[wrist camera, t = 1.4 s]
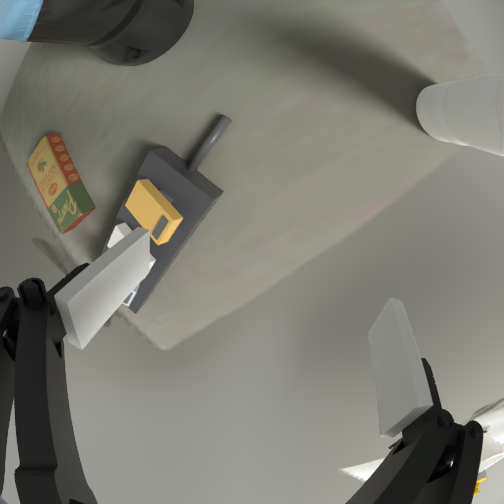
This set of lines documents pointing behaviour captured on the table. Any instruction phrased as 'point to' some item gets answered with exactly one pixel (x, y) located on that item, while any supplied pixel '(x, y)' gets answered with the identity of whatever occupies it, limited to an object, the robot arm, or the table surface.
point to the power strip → (179, 196)
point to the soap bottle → (480, 479)
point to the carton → (59, 183)
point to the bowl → (490, 452)
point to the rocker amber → (153, 211)
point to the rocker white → (120, 233)
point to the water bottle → (465, 112)
